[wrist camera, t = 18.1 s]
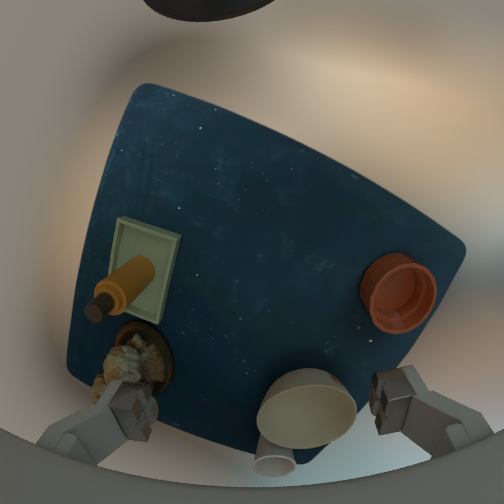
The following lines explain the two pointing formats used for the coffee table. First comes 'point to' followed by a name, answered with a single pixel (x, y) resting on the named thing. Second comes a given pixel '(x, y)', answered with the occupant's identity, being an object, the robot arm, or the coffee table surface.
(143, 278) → the bottle
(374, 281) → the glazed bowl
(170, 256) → the tray
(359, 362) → the coffee table surface
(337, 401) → the bowl
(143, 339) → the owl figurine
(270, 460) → the dixie cup
